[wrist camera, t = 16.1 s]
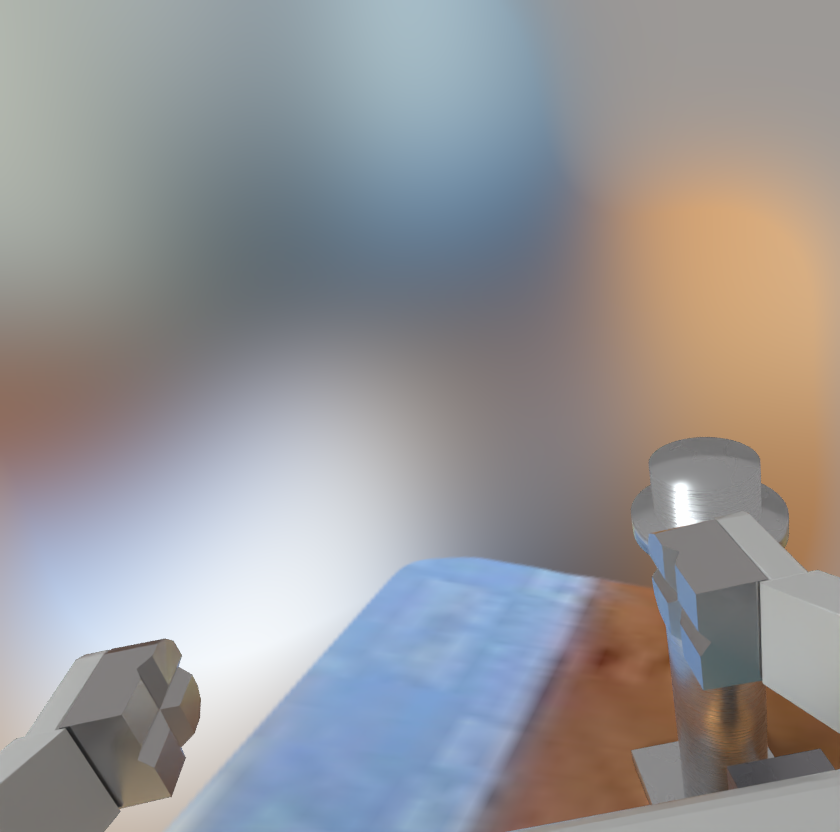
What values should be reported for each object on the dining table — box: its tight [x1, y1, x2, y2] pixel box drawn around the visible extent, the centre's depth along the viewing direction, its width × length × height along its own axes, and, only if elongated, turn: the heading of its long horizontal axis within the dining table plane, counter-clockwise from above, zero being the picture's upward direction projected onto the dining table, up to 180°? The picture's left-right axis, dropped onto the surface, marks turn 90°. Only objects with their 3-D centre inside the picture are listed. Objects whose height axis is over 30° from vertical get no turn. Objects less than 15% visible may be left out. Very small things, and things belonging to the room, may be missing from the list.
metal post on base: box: [631, 437, 789, 805], centre depth 27 cm, size 16×10×24 cm, turn 2°
